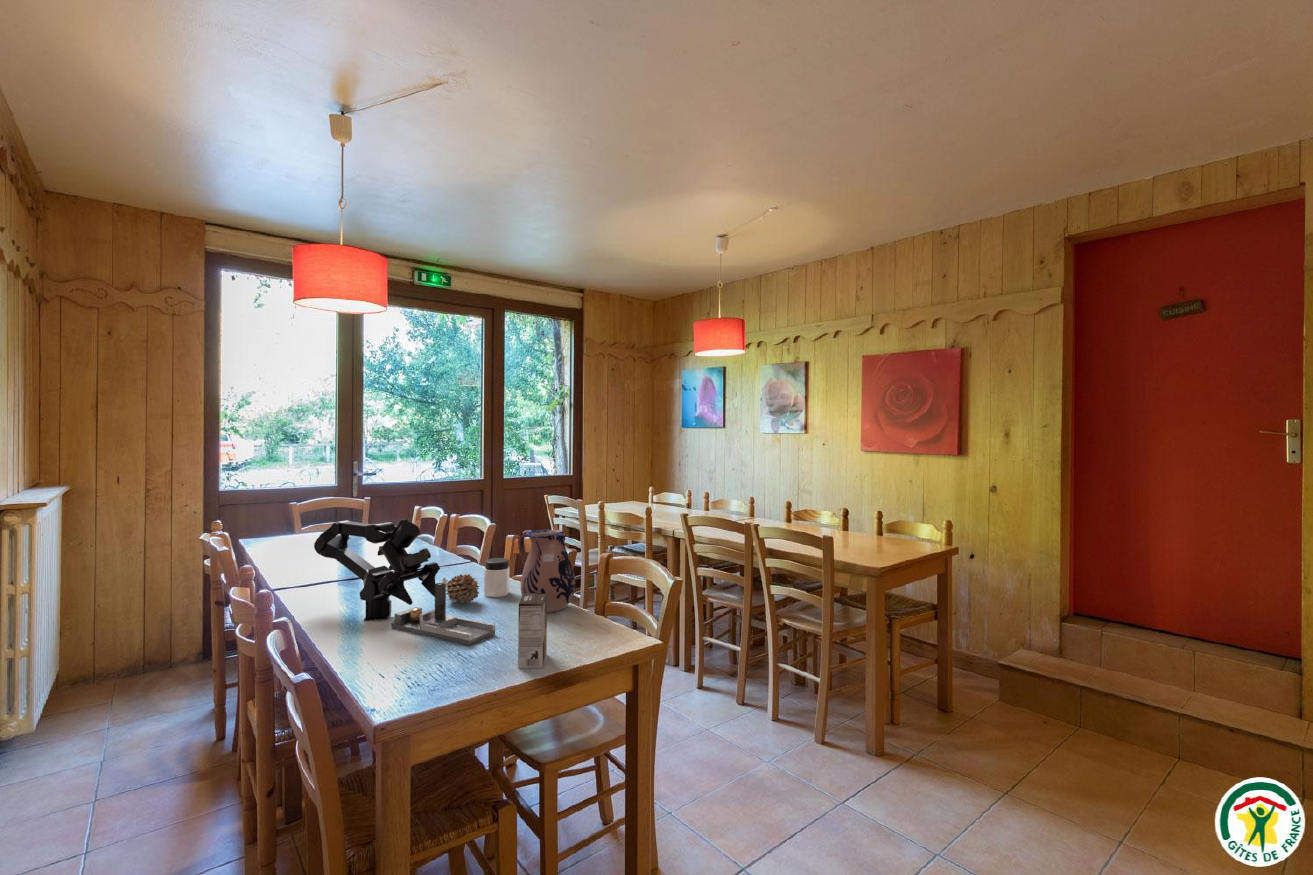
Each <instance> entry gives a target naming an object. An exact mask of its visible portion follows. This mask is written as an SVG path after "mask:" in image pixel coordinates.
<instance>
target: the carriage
mask: <svg viewBox="0 0 1313 875" xmlns="http://www.w3.org/2000/svg"><path fill="white" fill-rule="evenodd" d="M435 583H436V584H435V597H434V609H432V610H428V611H425V612H422V614H420V627H421V625H422V624H428V625H433V626H438V627H442V628H447V627H450V626H453V625H455V624H457V617H458V616H455V615H450V614H447V612H446V610H447V606H446V605H447V602H446V599H447V595H446V593H447V592H446V589H447V587H446V583H443V582H438V583H437V582H435Z"/></svg>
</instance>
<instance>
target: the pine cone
mask: <svg viewBox="0 0 1313 875" xmlns="http://www.w3.org/2000/svg"><path fill="white" fill-rule="evenodd" d="M442 583H446V596H448V598H449V599H448V600H451V601H452V602H455V603H456V604H458V603H461V604H466V603H470V602H472V601H474V599H476V598H478V597H479V594H480V592H479V590H480V585H479V584H480V582H478V580H476V577H473V575H471V574H469V573H468V574H466V573H465V574H463V573H460V574H459V575H455V576H454V577H451V579H449V580H448V579H447V578H446V577H443V578H442Z"/></svg>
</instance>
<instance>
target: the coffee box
mask: <svg viewBox="0 0 1313 875" xmlns="http://www.w3.org/2000/svg"><path fill="white" fill-rule="evenodd" d="M547 613H548V612H547V594H535V593H527V594H522V593H521V597H520V600H519V602H518V626H517V627H518V628H517V629H518V633H517V634H518V635H517V639H518V640H517V647H518V648H517V669H543V668H544V666H545V662H546V657H547V652H548V650H547V649H548V648H547V647H548V645H547V641H548V640H547V639H548V637H547V634H548V633H547V632H548V630H547V628H548V627H547V625H548V623H547V622H548V621H547V617H548V614H547Z"/></svg>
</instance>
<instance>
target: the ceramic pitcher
mask: <svg viewBox="0 0 1313 875" xmlns="http://www.w3.org/2000/svg"><path fill="white" fill-rule="evenodd" d="M564 532H565V531H564V530H562V529H540V530H539V529H538V530H527V529H526V530H524V531H522V532H521V533H520V535H519V536H518V538H517V546H518V547H517V548H518V554H519V555H520V559H521V562H522V564H523V570H522V573H521V578H520V592H521V595H522V594H527V593H535V594H547V613H554V612H558V611H562V610H563V609H565V607H567V606H569V604H570V602H571V601H572V600H573V597H574V594H575V590H576V576H575V572H574V569H573V566H572V562H571V559H570V556H569V553H568V550H567V547H566V544H565V541H566V538H567V535H566V534H565V533H564ZM526 537H528V538H529V539H530V547H529V550H528V553H527V552H526V551H527V550H526V546H525V538H526Z"/></svg>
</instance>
